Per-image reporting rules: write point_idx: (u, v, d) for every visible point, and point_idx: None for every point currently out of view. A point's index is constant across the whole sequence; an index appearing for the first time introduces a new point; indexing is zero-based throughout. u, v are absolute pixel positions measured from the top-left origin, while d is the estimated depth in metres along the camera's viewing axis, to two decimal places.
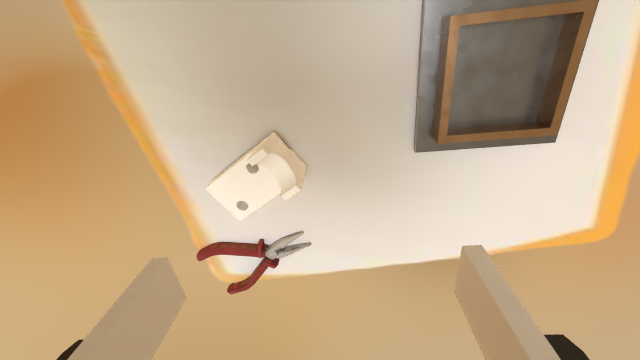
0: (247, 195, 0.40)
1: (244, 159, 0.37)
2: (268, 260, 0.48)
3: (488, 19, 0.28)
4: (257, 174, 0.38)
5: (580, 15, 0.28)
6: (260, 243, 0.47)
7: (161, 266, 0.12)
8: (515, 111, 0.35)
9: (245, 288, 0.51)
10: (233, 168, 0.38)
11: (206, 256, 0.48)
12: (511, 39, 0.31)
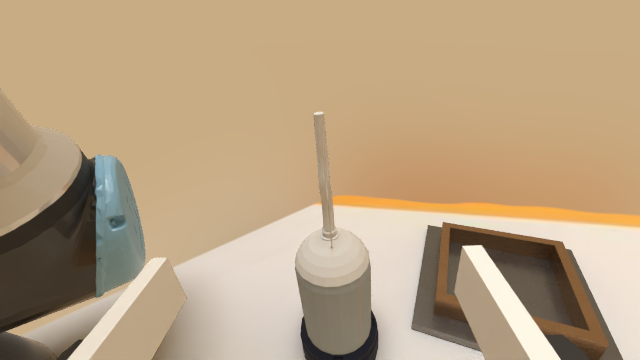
0: None
1: None
2: None
3: (444, 273, 0.32)
4: None
5: (452, 229, 0.39)
6: None
7: (161, 266, 0.12)
8: (538, 273, 0.34)
9: None
10: None
11: None
12: None
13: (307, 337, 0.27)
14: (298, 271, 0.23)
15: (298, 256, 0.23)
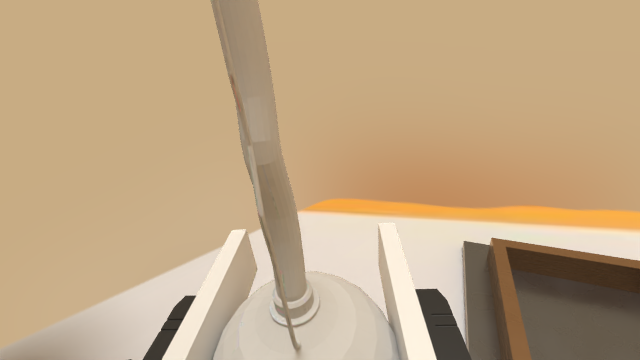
0: None
1: None
2: None
3: (521, 338, 0.18)
4: None
5: (509, 249, 0.25)
6: None
7: (243, 236, 0.13)
8: None
9: None
10: None
11: None
12: (539, 319, 0.21)
13: None
14: None
15: (215, 359, 0.09)
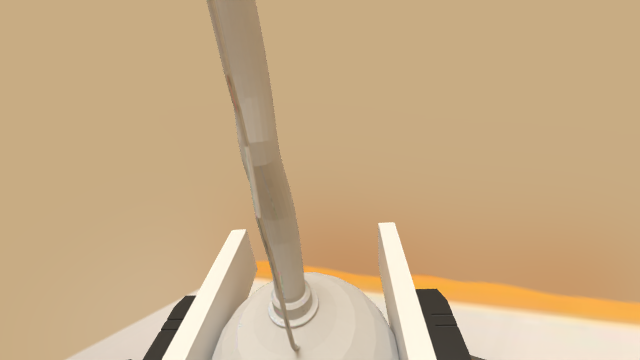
0: None
1: None
2: None
3: None
4: None
5: None
6: None
7: (243, 236, 0.13)
8: None
9: None
10: None
11: None
12: None
13: None
14: None
15: None
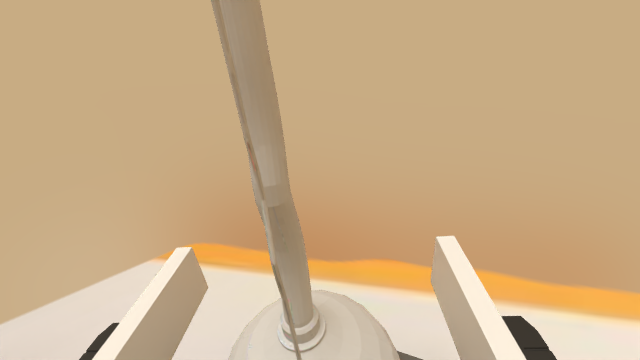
0: None
1: None
2: None
3: None
4: None
5: None
6: None
7: (186, 255, 0.12)
8: None
9: None
10: None
11: None
12: None
13: None
14: None
15: None
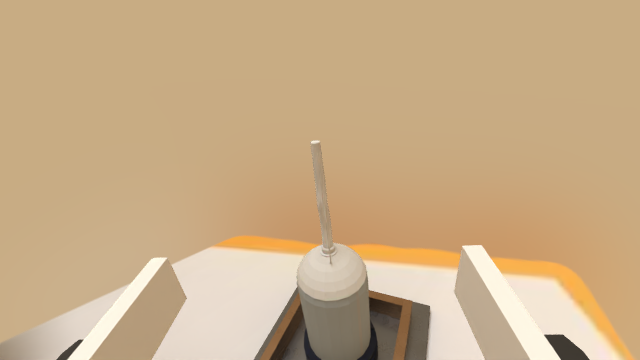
0: None
1: None
2: None
3: (275, 344, 0.30)
4: None
5: None
6: None
7: (161, 266, 0.12)
8: (384, 337, 0.32)
9: None
10: None
11: None
12: None
13: (310, 348, 0.28)
14: (300, 286, 0.24)
15: (299, 272, 0.25)
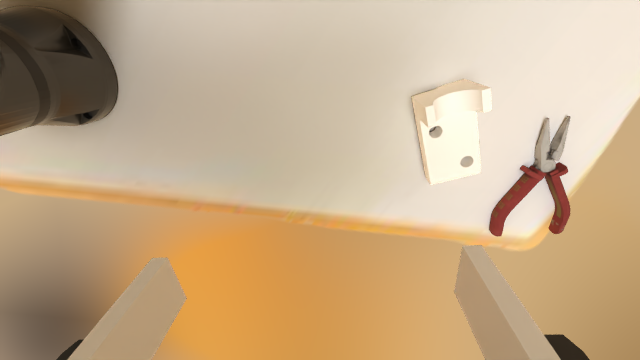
0: (459, 151, 0.38)
1: (423, 135, 0.37)
2: (553, 172, 0.40)
3: None
4: (444, 130, 0.37)
5: None
6: (526, 170, 0.41)
7: (161, 266, 0.12)
8: None
9: (567, 214, 0.43)
10: (426, 149, 0.38)
11: (501, 226, 0.45)
12: None
13: None
14: None
15: None
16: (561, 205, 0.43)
